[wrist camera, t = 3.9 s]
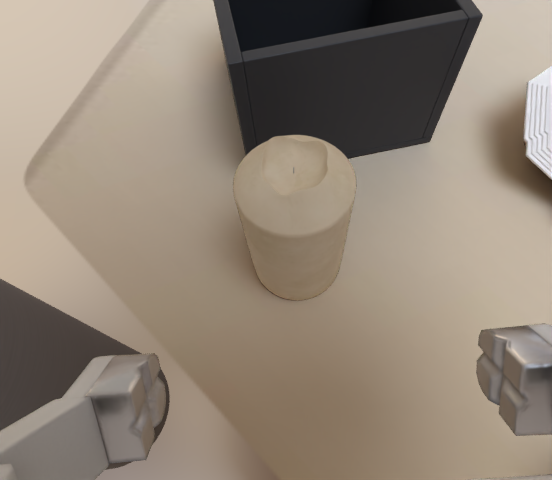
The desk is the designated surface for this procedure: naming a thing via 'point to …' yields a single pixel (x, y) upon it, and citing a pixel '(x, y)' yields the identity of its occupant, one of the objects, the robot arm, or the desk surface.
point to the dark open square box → (344, 68)
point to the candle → (295, 212)
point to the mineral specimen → (539, 121)
